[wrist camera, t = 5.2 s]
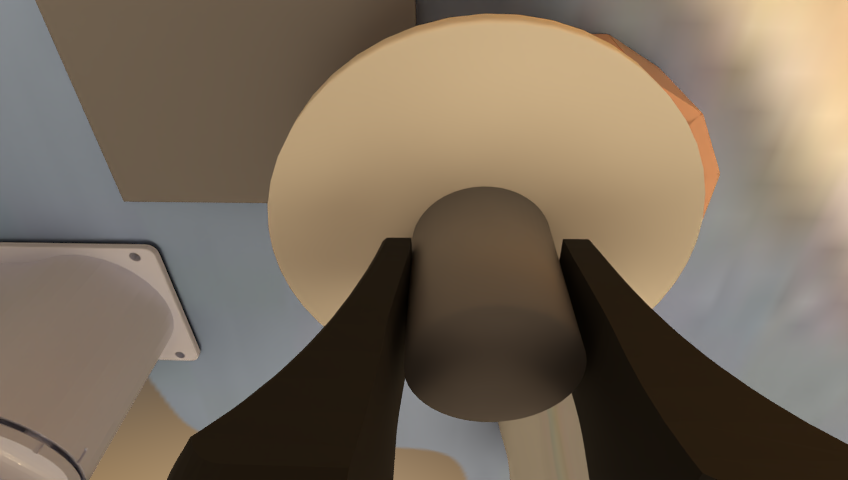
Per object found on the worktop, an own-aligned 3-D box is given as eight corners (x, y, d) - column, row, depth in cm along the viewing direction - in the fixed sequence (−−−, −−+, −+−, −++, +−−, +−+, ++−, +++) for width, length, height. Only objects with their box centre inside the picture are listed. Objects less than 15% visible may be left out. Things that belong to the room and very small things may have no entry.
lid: (315, 360, 18) (281, 502, 14) (223, 25, 11) (108, 121, 7) (641, 356, 17) (699, 502, 13) (756, 1, 10) (939, 92, 7)
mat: (128, 196, 23) (123, 201, 22) (-35, -182, 15) (-45, -183, 15) (420, 199, 22) (419, 204, 22) (411, -192, 14) (410, -193, 14)
